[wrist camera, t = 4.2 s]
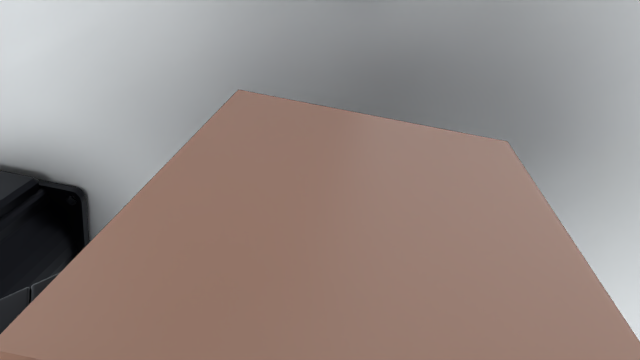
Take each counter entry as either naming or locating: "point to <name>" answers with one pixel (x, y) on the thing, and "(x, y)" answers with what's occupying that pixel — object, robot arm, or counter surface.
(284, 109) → the terracotta colored cuboid
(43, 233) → the robot arm
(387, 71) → the counter surface
